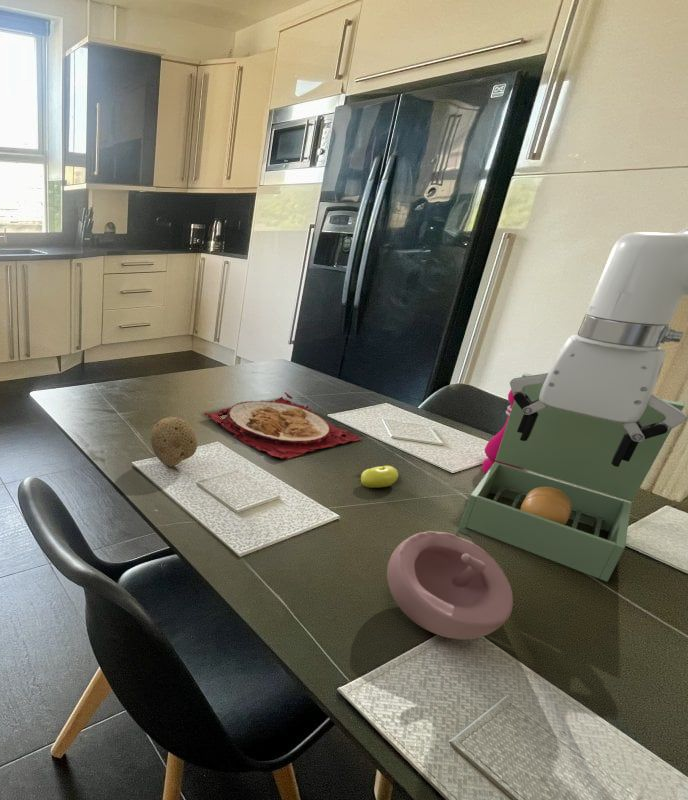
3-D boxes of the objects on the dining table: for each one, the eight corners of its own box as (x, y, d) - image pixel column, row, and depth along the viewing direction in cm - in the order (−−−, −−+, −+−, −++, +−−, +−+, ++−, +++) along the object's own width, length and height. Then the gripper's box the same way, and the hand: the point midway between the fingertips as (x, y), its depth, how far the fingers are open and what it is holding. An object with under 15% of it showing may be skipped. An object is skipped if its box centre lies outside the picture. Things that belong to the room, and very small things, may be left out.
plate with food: (202, 419, 117) (203, 406, 116) (281, 401, 127) (283, 389, 126) (275, 464, 98) (278, 449, 96) (362, 439, 108) (365, 425, 106)
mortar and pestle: (401, 655, 55) (428, 575, 51) (362, 581, 66) (382, 510, 62) (518, 671, 53) (556, 589, 49) (459, 592, 64) (485, 520, 60)
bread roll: (558, 543, 69) (572, 512, 67) (512, 526, 73) (524, 496, 71) (566, 519, 74) (579, 490, 73) (523, 504, 78) (534, 476, 76)
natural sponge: (180, 451, 101) (184, 407, 98) (203, 471, 94) (209, 424, 90) (141, 457, 98) (144, 412, 95) (162, 479, 91) (166, 431, 87)
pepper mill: (483, 460, 99) (516, 367, 92) (529, 475, 94) (568, 377, 87) (473, 471, 95) (507, 375, 88) (520, 487, 90) (560, 385, 82)
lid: (684, 406, 64) (688, 388, 66) (522, 375, 75) (531, 360, 78) (632, 501, 73) (637, 482, 75) (495, 460, 84) (503, 445, 87)
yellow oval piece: (351, 482, 91) (356, 464, 89) (385, 476, 93) (390, 458, 91) (369, 494, 87) (374, 475, 85) (404, 488, 89) (410, 469, 88)
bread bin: (603, 589, 65) (624, 548, 63) (457, 531, 77) (470, 494, 74) (613, 539, 76) (631, 502, 73) (482, 494, 87) (495, 461, 85)
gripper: (721, 342, 59) (657, 465, 65) (537, 317, 71) (498, 423, 77) (726, 352, 54) (656, 484, 61) (528, 324, 66) (486, 436, 73)
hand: (567, 450), depth 69 cm, fingers open, 9 cm apart
